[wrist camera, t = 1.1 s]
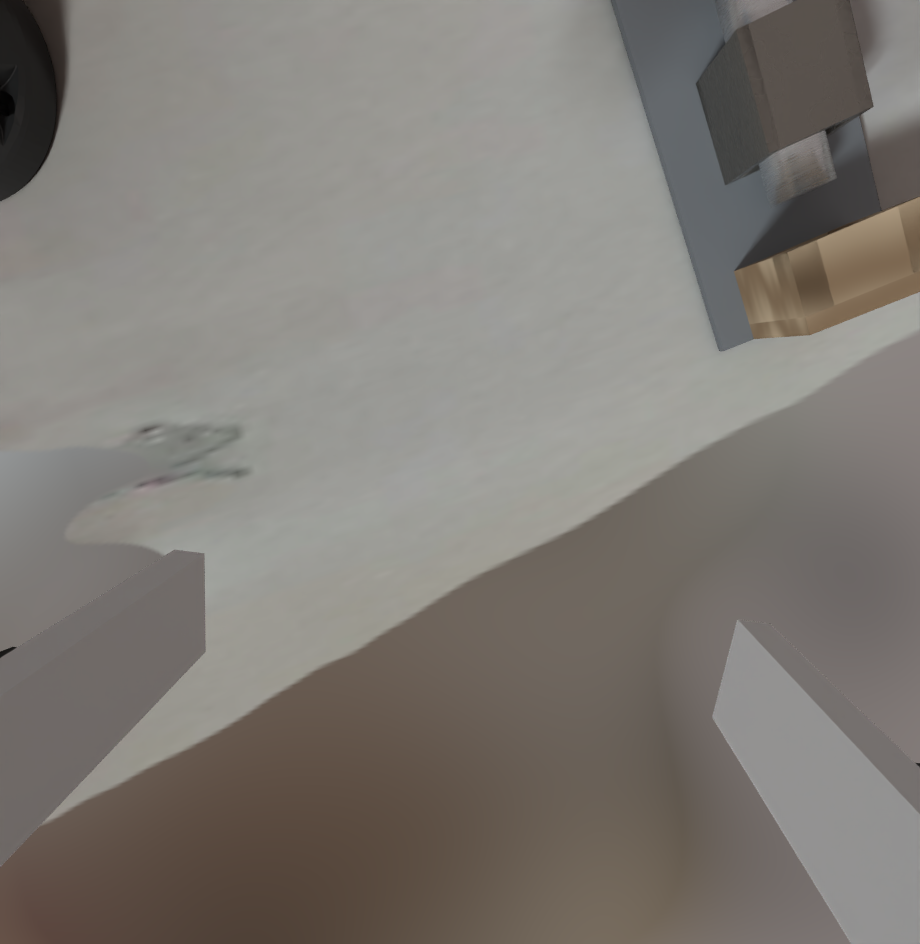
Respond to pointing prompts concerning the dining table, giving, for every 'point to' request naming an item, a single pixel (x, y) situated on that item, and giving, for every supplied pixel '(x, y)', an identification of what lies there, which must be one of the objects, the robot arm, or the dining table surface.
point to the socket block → (834, 275)
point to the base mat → (697, 169)
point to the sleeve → (783, 83)
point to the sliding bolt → (798, 162)
